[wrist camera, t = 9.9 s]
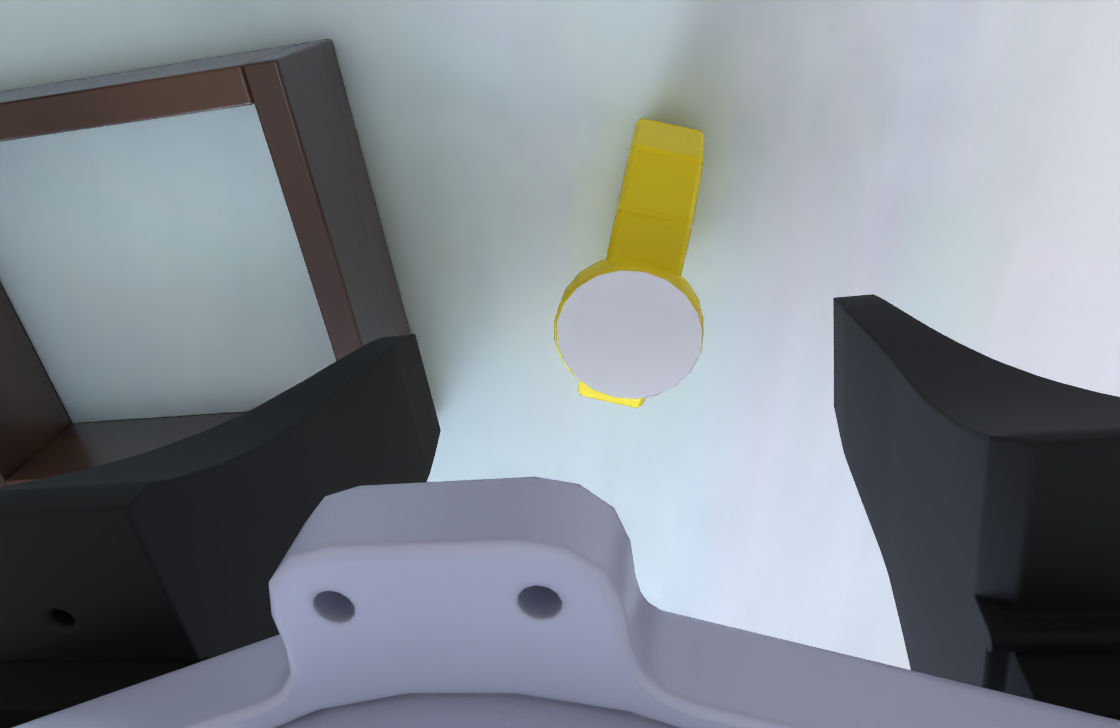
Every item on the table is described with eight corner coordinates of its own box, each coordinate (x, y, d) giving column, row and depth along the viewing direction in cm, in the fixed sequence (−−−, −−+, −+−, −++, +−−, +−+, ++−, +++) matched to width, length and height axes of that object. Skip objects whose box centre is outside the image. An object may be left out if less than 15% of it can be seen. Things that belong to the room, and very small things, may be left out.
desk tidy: (61, 445, 27) (-7, 504, 24) (-115, 109, 22) (-224, 137, 19) (434, 422, 24) (404, 484, 22) (332, 38, 19) (276, 58, 17)
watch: (613, 86, 19) (586, 155, 14) (733, 111, 19) (750, 190, 14) (567, 317, 22) (530, 445, 17) (670, 340, 22) (665, 475, 17)
